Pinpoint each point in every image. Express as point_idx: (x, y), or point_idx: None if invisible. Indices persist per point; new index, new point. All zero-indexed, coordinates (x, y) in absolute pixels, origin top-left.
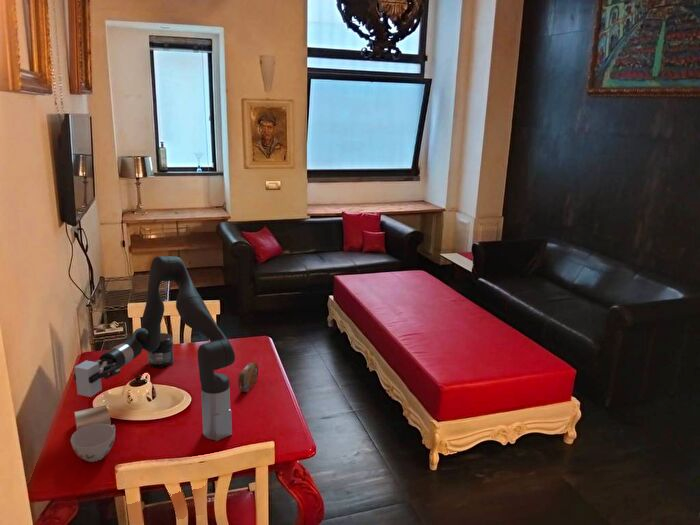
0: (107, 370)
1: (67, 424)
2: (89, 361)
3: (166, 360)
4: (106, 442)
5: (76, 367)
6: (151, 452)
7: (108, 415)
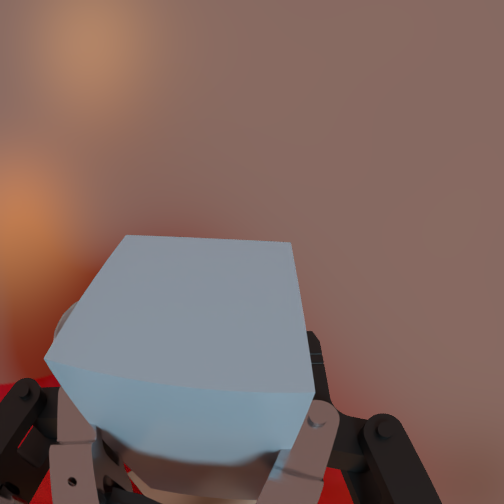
0: (15, 415)
1: (329, 481)
2: (218, 375)
3: None
4: (67, 312)
5: (263, 241)
6: (8, 391)
7: (147, 494)
